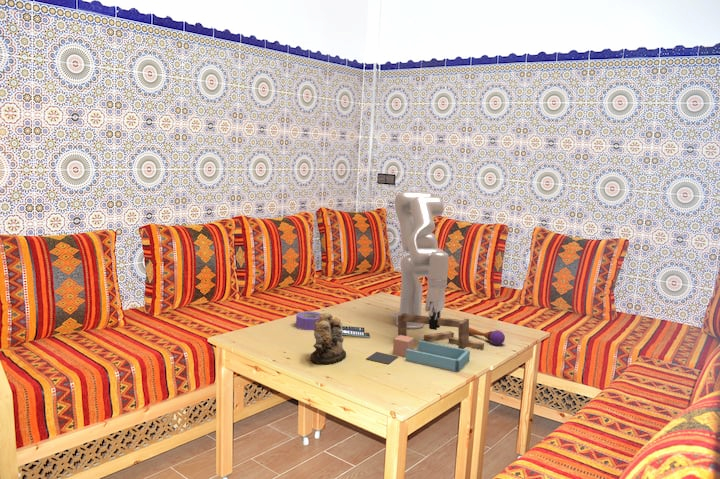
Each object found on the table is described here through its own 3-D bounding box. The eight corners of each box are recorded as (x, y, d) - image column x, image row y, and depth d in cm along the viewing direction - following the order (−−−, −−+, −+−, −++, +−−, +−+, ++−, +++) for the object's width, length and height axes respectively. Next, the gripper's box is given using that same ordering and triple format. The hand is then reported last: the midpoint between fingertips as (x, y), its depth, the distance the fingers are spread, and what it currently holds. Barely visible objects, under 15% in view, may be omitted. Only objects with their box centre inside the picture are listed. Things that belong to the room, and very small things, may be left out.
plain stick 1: (427, 342, 235) (427, 336, 235) (423, 341, 238) (424, 335, 237) (453, 338, 243) (453, 332, 243) (449, 336, 245) (449, 331, 245)
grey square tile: (365, 359, 212) (366, 358, 212) (376, 352, 220) (376, 351, 220) (388, 364, 208) (388, 363, 208) (398, 357, 216) (398, 356, 216)
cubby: (405, 360, 213) (406, 349, 213) (418, 350, 225) (419, 340, 224) (458, 372, 204) (459, 361, 204) (469, 360, 216) (470, 350, 215)
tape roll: (323, 322, 255) (324, 311, 254) (322, 330, 243) (323, 319, 243) (296, 321, 254) (297, 310, 254) (294, 329, 243) (295, 318, 242)
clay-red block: (392, 354, 219) (393, 338, 218) (399, 349, 225) (400, 334, 224) (407, 357, 217) (408, 342, 216) (413, 352, 222) (414, 337, 221)
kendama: (470, 323, 252) (508, 332, 237) (468, 336, 252) (506, 346, 237) (461, 322, 248) (499, 331, 233) (459, 336, 248) (497, 346, 233)
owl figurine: (331, 368, 201) (333, 321, 199) (301, 362, 206) (302, 316, 203) (352, 353, 218) (354, 309, 215) (324, 348, 222) (325, 305, 220)
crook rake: (396, 341, 234) (396, 316, 233) (404, 336, 241) (404, 312, 240) (462, 350, 221) (462, 323, 220) (468, 345, 228) (468, 319, 227)
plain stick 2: (448, 344, 235) (448, 338, 235) (450, 342, 238) (450, 336, 237) (482, 350, 229) (482, 344, 229) (483, 349, 231) (484, 343, 231)
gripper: (435, 278, 236) (432, 322, 238) (421, 285, 222) (418, 331, 224) (452, 280, 233) (449, 325, 235) (439, 287, 218) (436, 334, 221)
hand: (434, 327), depth 230 cm, fingers closed on crook rake, 2 cm apart
